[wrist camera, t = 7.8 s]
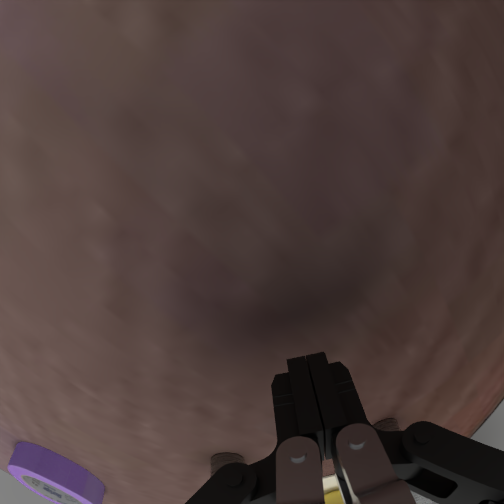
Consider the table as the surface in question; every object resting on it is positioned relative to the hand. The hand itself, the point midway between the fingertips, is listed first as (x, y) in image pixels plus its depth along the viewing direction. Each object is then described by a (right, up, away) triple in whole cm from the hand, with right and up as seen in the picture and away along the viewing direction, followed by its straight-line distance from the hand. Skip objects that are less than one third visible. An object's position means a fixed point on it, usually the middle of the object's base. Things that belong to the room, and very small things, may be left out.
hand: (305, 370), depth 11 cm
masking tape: (-24, -20, +12) cm, 34 cm away
